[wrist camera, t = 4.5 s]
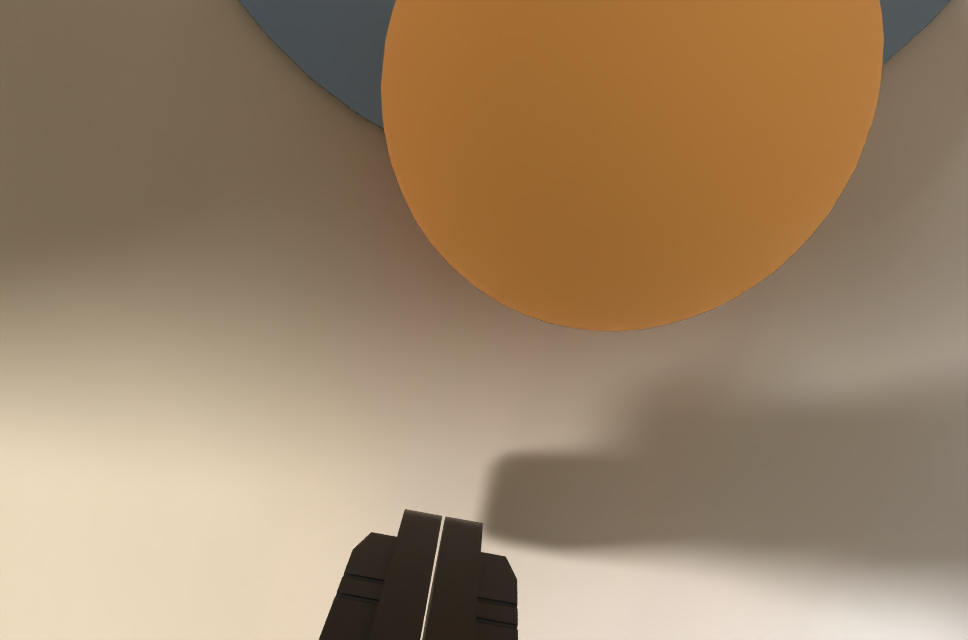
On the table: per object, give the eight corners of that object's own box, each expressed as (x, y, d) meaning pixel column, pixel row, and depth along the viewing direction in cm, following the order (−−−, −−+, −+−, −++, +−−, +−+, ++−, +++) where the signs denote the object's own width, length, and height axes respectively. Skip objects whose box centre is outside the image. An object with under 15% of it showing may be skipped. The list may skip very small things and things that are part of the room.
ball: (497, -456, 5) (478, 6, 10) (198, 76, 4) (351, 280, 9) (1117, -238, 5) (767, 117, 10) (972, 383, 4) (669, 409, 9)
